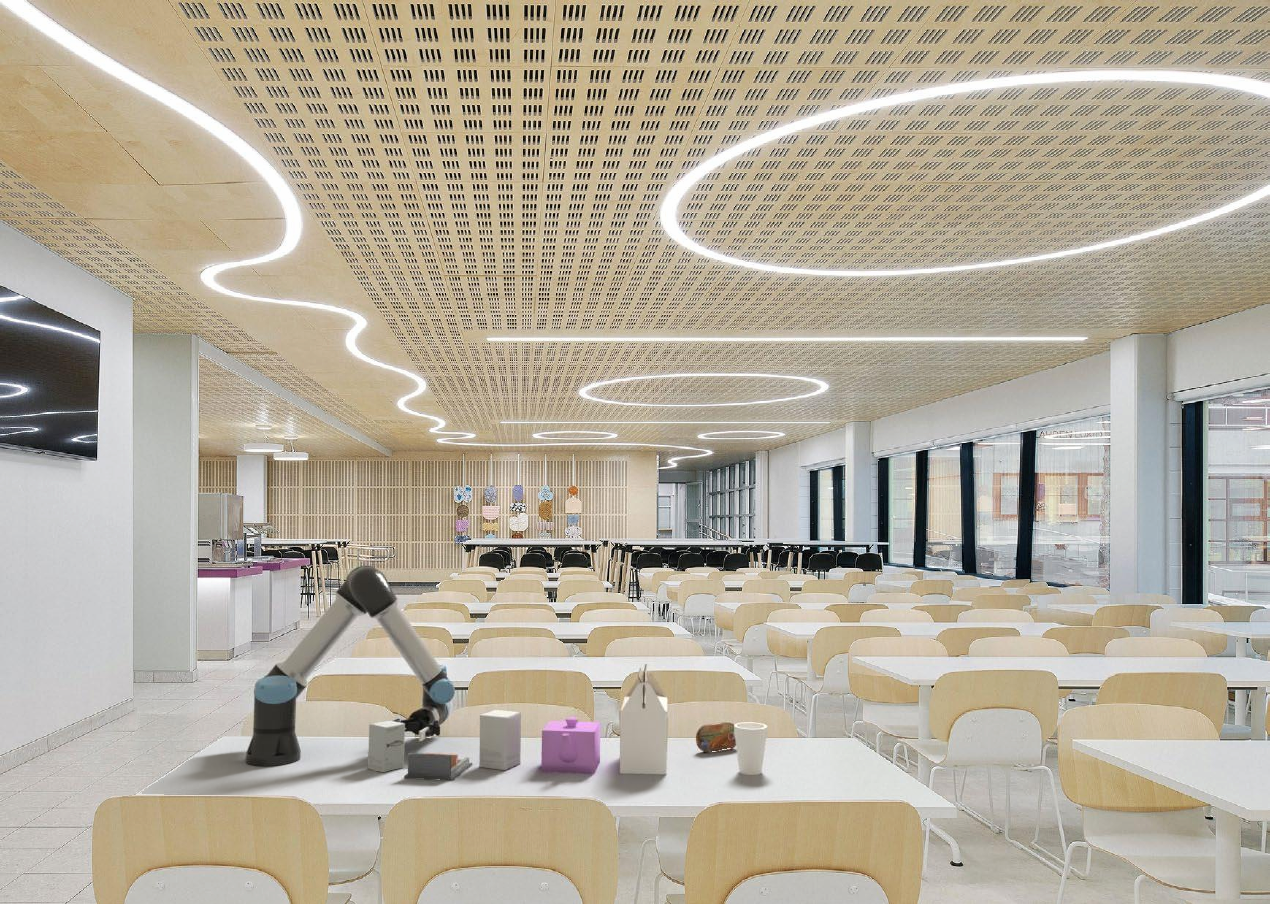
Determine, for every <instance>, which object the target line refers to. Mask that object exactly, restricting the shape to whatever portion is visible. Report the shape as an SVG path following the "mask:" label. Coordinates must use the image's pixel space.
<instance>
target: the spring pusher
mask: <svg viewBox="0 0 1270 904" xmlns="http://www.w3.org/2000/svg"><path fill="white" fill-rule="evenodd" d="M424 754H442V755H451V768H452V767H453V766H455V765H456V764H457V763H458V759H459V754H458V753H443V752H442V753H441V752H439V753H436V752H425V753H424Z"/></svg>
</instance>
